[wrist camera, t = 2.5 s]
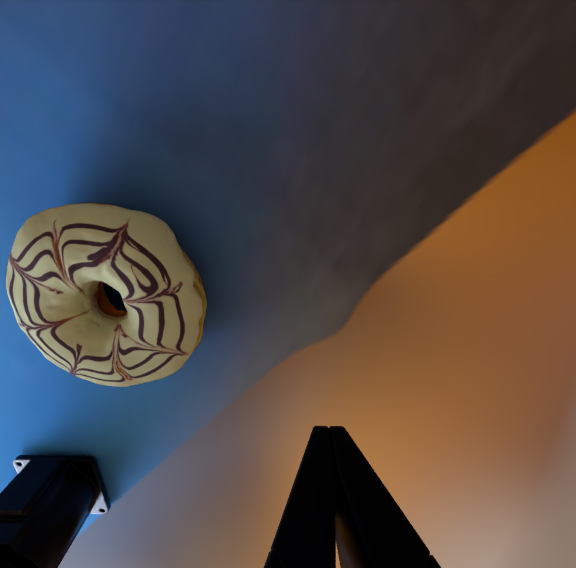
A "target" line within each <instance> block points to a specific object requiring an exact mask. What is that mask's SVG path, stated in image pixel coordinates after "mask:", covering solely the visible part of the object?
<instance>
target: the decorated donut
mask: <svg viewBox="0 0 576 568" xmlns="http://www.w3.org/2000/svg"><path fill="white" fill-rule="evenodd" d="M103 282H105V283H107V284H108V285H110V286H111V287H113V288H114V289H116V290H117V291H119V292H120V294H121V296H122V300H123V302H124V306H125V308H126V309H127V311H123V310H120V309H118V308H116V307H115V306H114V305H112V304H111V303H110V302H109V300H108V298H107V296H106V294H105V291H104V288H103ZM6 288H7V293H8V297H9V300H10V303H11V305H12V308H13V310H14V314H15V317H16V320H17V323H18V324H19V326H20V328H21V329H22V330H23V331H24V332H25V333H26V334H27V336H28V338H29V339H30V340H31V341H32V342H33V343H34V345H35V346H36V347H37V348H38V349H39V350H40V351H41V353H42V354H43V355H44V356H45V358H46V359H48V360H49V361H51V362H52V363H54V364H55V365H57V366H58V367H60V368H62V369H64V370H66V371H68V372H69V373H71V374H72V375H74V376H77V377H79V378H81V379H86V380H89V381H91V382H94V383H96V384H101V385H108V386H119V387H126V386H131V385H136V384H141V383H145V382H150V381H153V380H158V379H162V378H165V377H167V376H169V375H171V374H173V373H174V372H176V371H177V370H179V369H180V368H181V367H182V365H183V364H184V363H185V362H186V361H187V360H188V358H189V356H190V355H191V354H192V353H193V351H194V350H195V348H196V347H197V346H198V345H199V343H200V341H201V338H202V335H203V324H204V317H205V314H206V307H207V301H206V295H205V291H204V287H203V284H202V280H201V277H200V275H199V274H198V272H197V270H196V268H195V266H194V264H193V262H192V261H191V260H190V258H189V257H188V256H187V254H186V253H185V252H184V250H183V249H182V248H181V246H180V245H179V244H178V243H177V240H176V237H175V235H174V233H173V231H172V230H171V228H170V227H169V226H168V225H167V224H166V223H165V222H164V221H162V220H161V219H159V218H157V217H155V216H153V215H151V214H148V213H145V212H142V211H136V210H129V209H127V208H123V207H119V206H114V205H109V204H102V203H81V204H80V203H78V204H68V205H64V206H60V207H56V208H51V209H46V210H44V211H42V212H40V213H37V214H35V215H33V216H31V217H30V218H29V219H28V220H27V221H26V222H25V223H24V224H23V225H22V227H21V229H20V230H19V231H18V233H17V235H16V238H15V241H14V243H13V247H12V251H11V253H10V257H9V261H8V266H7V274H6Z"/></svg>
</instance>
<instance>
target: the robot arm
mask: <svg viewBox="0 0 576 568" xmlns="http://www.w3.org/2000/svg"><path fill="white" fill-rule="evenodd" d="M13 465H14V467H15V469H16V471H17V473H18V474H17V475H16V477H15V478H14V479H13V480H12V481H11V482H10V483H9V484H8V485H7V487H6V488H5V489H4V490H3V491H2V492H1V493H0V568H58V566H59V564H60V563H61V561H62V559H63V557H64V556H65V554H66V552H67V551H68V549H69V547H70V546H71V544H72V542H73V541H74V539H75V537H76V536H77V534H78V532H79V530H80V529H81V527H82V525H83V524H84V522H85V520H86V519H87V517H88V515H89V514H107V513H108V511H109V509H110V507H111V505H110V502H109V499H108V496H107V493H106V490H105V487H104V484H103V481H102V478H101V475H100V472H99V469H98V466H97V463H96V460H95V459H94V458H92V457H89V456H43V455H19V456H18V457H17V458H16V459H15V460H14V461H13ZM336 544H337V549H338V555H339V561H340V566H341V568H441V567H440V565H439V564H438V562H437V561H436V559H435V558H434V557H433V555H430V551H429V550H428V548H427V547H426V545H425V544H424V542H423V541H422V540H421V538H420V536H419V535H418V534H417V532H416V531H415V529H414V528H413V526H412V525H411V524H410V522H409V521H408V519H407V518H406V516H405V515H404V513H403V512H402V510H401V509H400V507H399V506H398V505H397V503H396V502H395V501H394V499H393V497H392V496H391V494H390V493H389V492H388V490H387V489H386V487H385V486H384V484H383V483H382V481H381V480H380V478H379V477H378V476H377V474H376V473H375V472H374V470H373V469H372V467H371V465H370V464H369V462H368V461H367V460H366V458H365V457H364V455H363V454H362V452H361V451H360V450H359V448H358V447H357V445H356V444H355V442H354V441H353V439H352V438H351V436H350V435H349V434H348V432H347V431H346V429H345V428H344V427H342V426H331V427H329V428H328V427H327V426H314V428H313V430H312V433H311V436H310V439H309V441H308V444H307V447H306V450H305V453H304V455H303V458H302V461H301V464H300V467H299V470H298V472H297V475H296V478H295V481H294V484H293V487H292V489H291V492H290V495H289V498H288V501H287V504H286V507H285V510H284V512H283V515H282V518H281V521H280V524H279V526H278V529H277V532H276V535H275V538H274V541H273V544H272V547H271V551H270V552H269V554H268V557H267V560H266V563H265V566H264V568H336V564H335V563H336V559H335V558H336V551H335V550H336ZM429 555H430V556H429Z"/></svg>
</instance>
